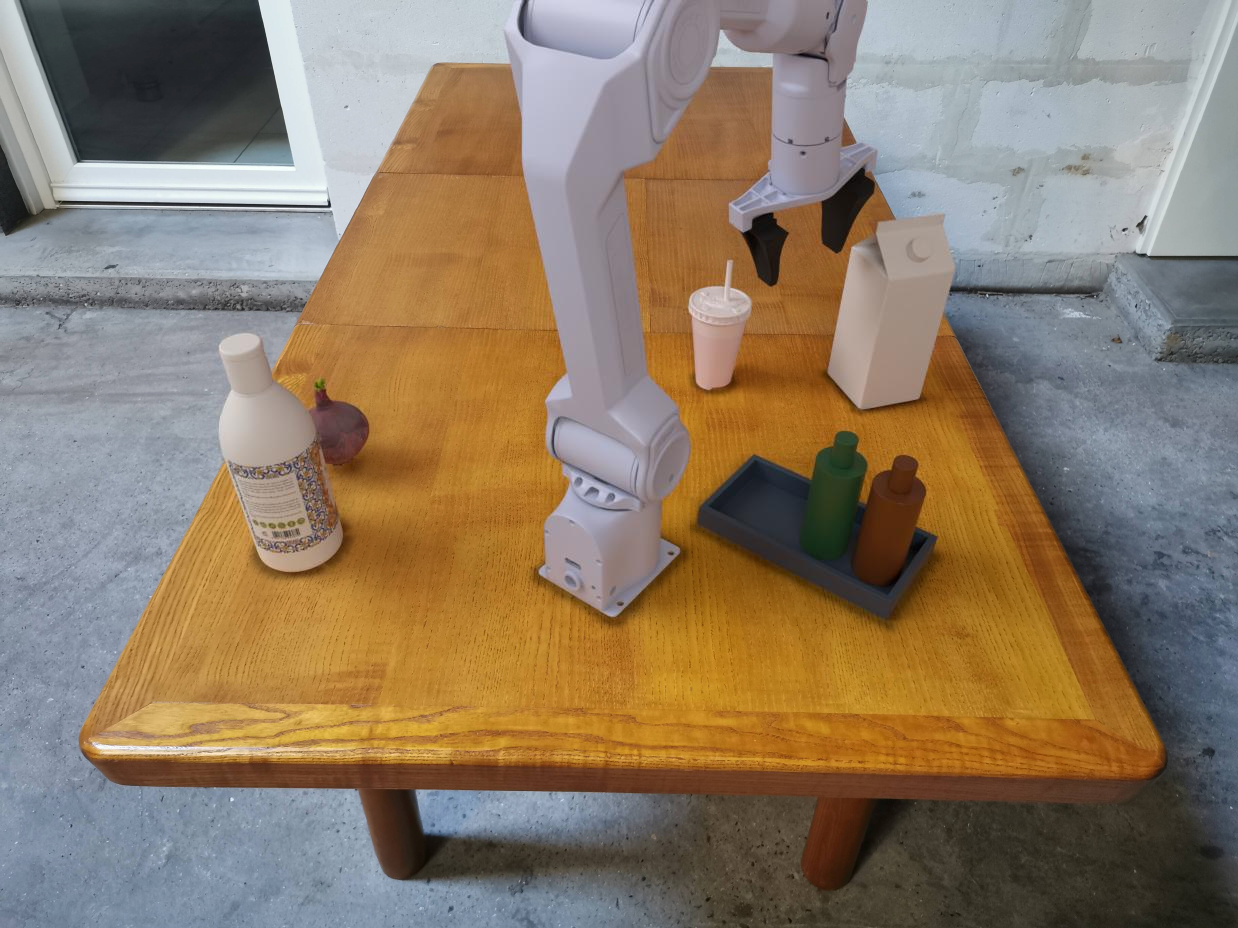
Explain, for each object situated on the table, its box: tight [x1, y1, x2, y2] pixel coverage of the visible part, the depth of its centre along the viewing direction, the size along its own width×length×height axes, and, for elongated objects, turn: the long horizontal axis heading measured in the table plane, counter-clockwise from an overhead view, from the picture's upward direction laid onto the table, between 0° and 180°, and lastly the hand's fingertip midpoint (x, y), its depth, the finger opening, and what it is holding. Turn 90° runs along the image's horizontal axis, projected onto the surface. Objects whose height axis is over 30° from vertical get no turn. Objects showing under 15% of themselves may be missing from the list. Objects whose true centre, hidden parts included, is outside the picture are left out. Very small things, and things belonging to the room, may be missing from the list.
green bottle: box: [800, 430, 869, 560], centre depth 71 cm, size 4×4×11 cm
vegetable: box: [308, 377, 370, 468], centre depth 80 cm, size 6×6×10 cm
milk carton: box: [827, 212, 956, 410], centre depth 88 cm, size 7×7×19 cm
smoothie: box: [687, 259, 753, 391], centre depth 90 cm, size 6×6×14 cm
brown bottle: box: [851, 454, 927, 586], centre depth 69 cm, size 4×4×11 cm
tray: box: [697, 453, 938, 621], centre depth 75 cm, size 9×18×2 cm, turn 53°
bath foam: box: [218, 332, 344, 573], centre depth 68 cm, size 7×7×20 cm
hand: (799, 263), depth 82 cm, fingers open, 7 cm apart
